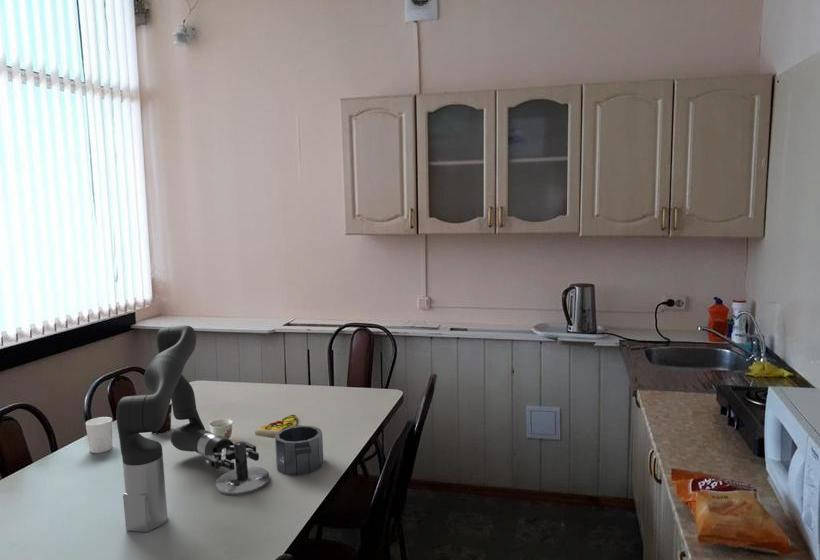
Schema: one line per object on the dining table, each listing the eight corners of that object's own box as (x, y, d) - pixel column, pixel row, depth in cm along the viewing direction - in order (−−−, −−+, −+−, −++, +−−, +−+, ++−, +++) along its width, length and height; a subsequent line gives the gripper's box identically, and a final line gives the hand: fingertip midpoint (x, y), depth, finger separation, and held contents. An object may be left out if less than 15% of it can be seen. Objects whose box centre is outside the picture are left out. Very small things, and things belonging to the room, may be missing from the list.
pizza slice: (252, 437, 207) (252, 429, 206) (277, 416, 227) (277, 409, 226) (293, 439, 203) (293, 431, 203) (315, 419, 223) (315, 411, 223)
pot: (328, 474, 175) (327, 442, 173) (280, 482, 170) (279, 449, 169) (317, 449, 193) (315, 420, 192) (273, 455, 189) (272, 426, 188)
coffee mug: (164, 435, 209) (162, 408, 208) (143, 434, 211) (141, 407, 209) (183, 423, 220) (181, 398, 219) (162, 422, 222) (160, 397, 221)
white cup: (82, 451, 196) (80, 422, 195) (104, 443, 203) (102, 415, 202) (97, 455, 193) (95, 426, 191) (119, 447, 200) (117, 418, 198)
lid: (258, 495, 162) (255, 454, 161) (207, 495, 164) (203, 454, 162) (276, 471, 177) (273, 433, 176) (228, 471, 179) (225, 433, 177)
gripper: (192, 443, 173) (222, 457, 163) (235, 429, 184) (266, 441, 173) (194, 467, 174) (224, 483, 163) (236, 451, 185) (267, 465, 174)
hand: (245, 461), depth 168 cm, fingers open, 7 cm apart
